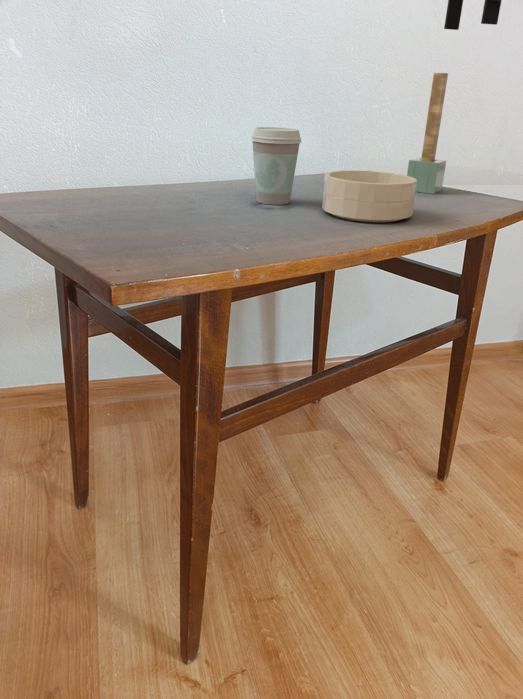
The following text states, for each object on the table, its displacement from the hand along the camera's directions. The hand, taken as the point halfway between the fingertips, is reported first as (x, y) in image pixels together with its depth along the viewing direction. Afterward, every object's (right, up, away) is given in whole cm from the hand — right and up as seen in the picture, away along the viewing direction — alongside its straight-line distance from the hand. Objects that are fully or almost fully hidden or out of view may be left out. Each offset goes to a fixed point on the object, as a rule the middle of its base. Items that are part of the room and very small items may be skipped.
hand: (469, 27), depth 110 cm
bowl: (-21, -38, -13) cm, 45 cm away
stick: (-5, -27, +12) cm, 30 cm away
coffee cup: (-36, -34, -6) cm, 50 cm away
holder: (-5, -27, +12) cm, 30 cm away
